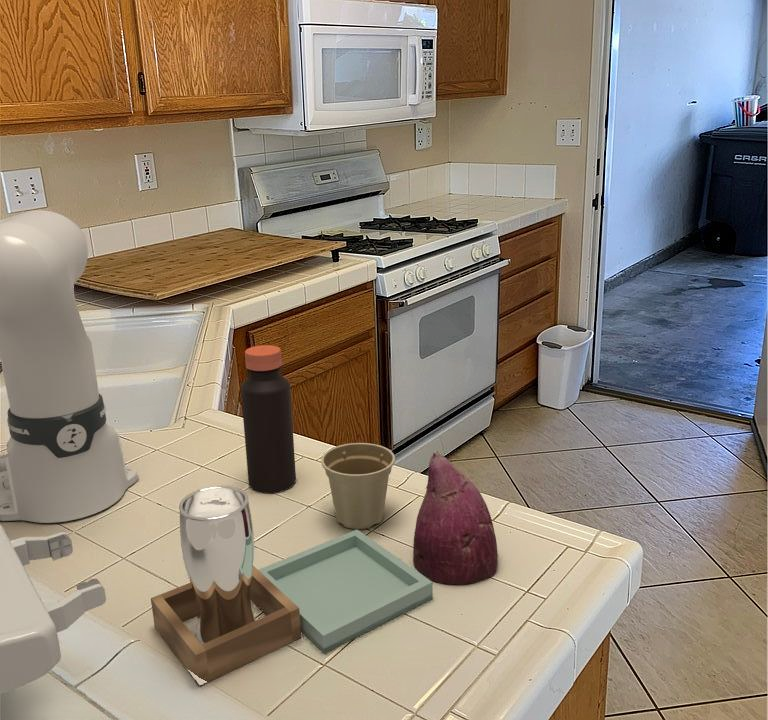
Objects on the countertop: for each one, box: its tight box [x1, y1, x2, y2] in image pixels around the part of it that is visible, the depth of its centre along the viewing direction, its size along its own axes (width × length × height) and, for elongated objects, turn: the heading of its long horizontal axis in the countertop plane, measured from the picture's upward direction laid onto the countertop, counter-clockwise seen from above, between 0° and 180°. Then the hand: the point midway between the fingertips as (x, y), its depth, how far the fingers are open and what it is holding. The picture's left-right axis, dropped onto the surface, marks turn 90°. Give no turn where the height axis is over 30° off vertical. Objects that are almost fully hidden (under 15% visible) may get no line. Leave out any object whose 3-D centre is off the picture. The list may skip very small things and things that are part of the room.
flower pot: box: [320, 442, 396, 530], centre depth 97 cm, size 9×9×9 cm
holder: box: [150, 565, 302, 683], centre depth 77 cm, size 11×11×4 cm
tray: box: [258, 529, 434, 655], centre depth 83 cm, size 14×14×2 cm
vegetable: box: [412, 449, 499, 586], centre depth 87 cm, size 10×10×15 cm
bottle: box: [240, 344, 297, 494], centre depth 105 cm, size 7×7×20 cm
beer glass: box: [178, 485, 256, 645], centre depth 75 cm, size 7×7×15 cm
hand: (85, 564), depth 66 cm, fingers open, 8 cm apart
